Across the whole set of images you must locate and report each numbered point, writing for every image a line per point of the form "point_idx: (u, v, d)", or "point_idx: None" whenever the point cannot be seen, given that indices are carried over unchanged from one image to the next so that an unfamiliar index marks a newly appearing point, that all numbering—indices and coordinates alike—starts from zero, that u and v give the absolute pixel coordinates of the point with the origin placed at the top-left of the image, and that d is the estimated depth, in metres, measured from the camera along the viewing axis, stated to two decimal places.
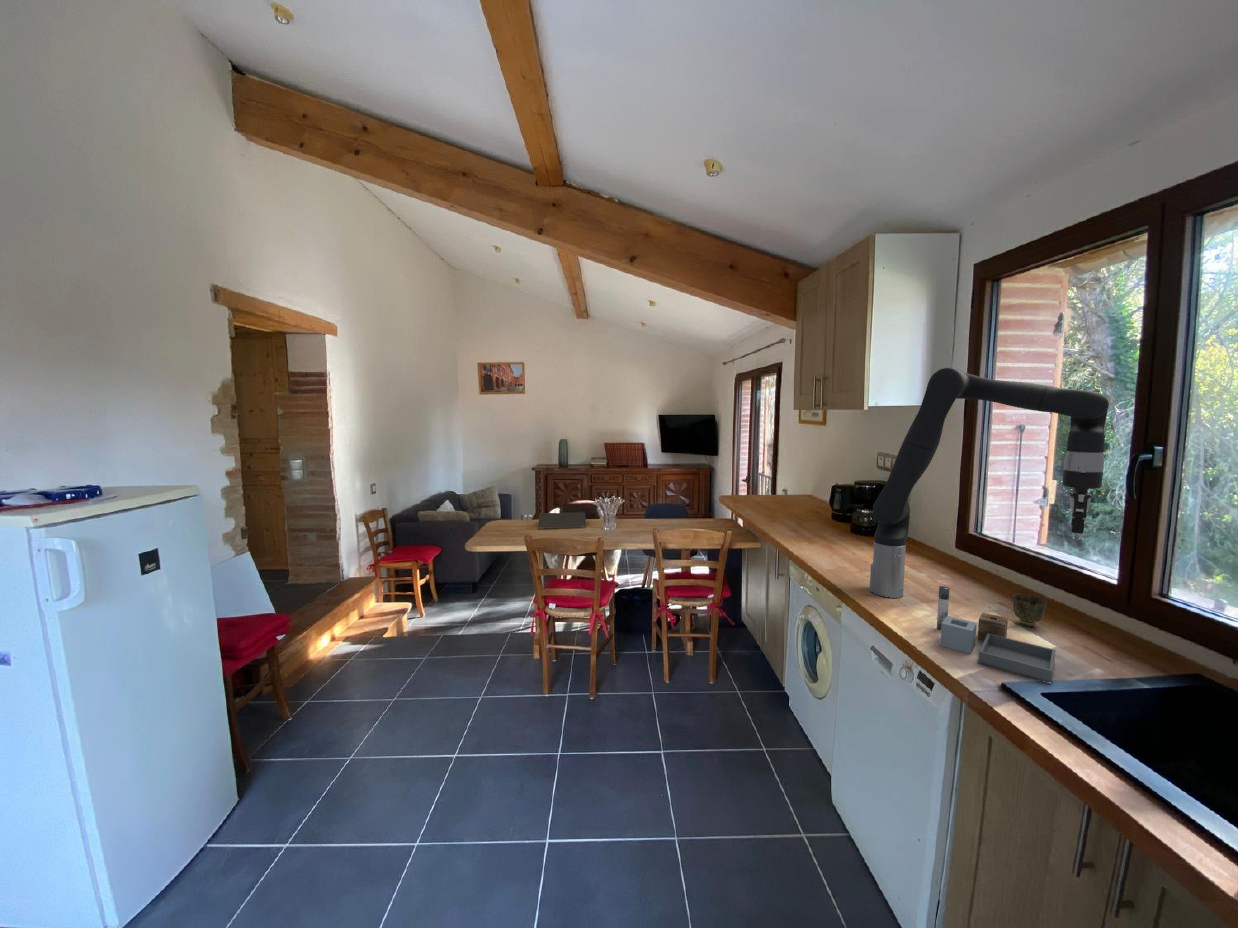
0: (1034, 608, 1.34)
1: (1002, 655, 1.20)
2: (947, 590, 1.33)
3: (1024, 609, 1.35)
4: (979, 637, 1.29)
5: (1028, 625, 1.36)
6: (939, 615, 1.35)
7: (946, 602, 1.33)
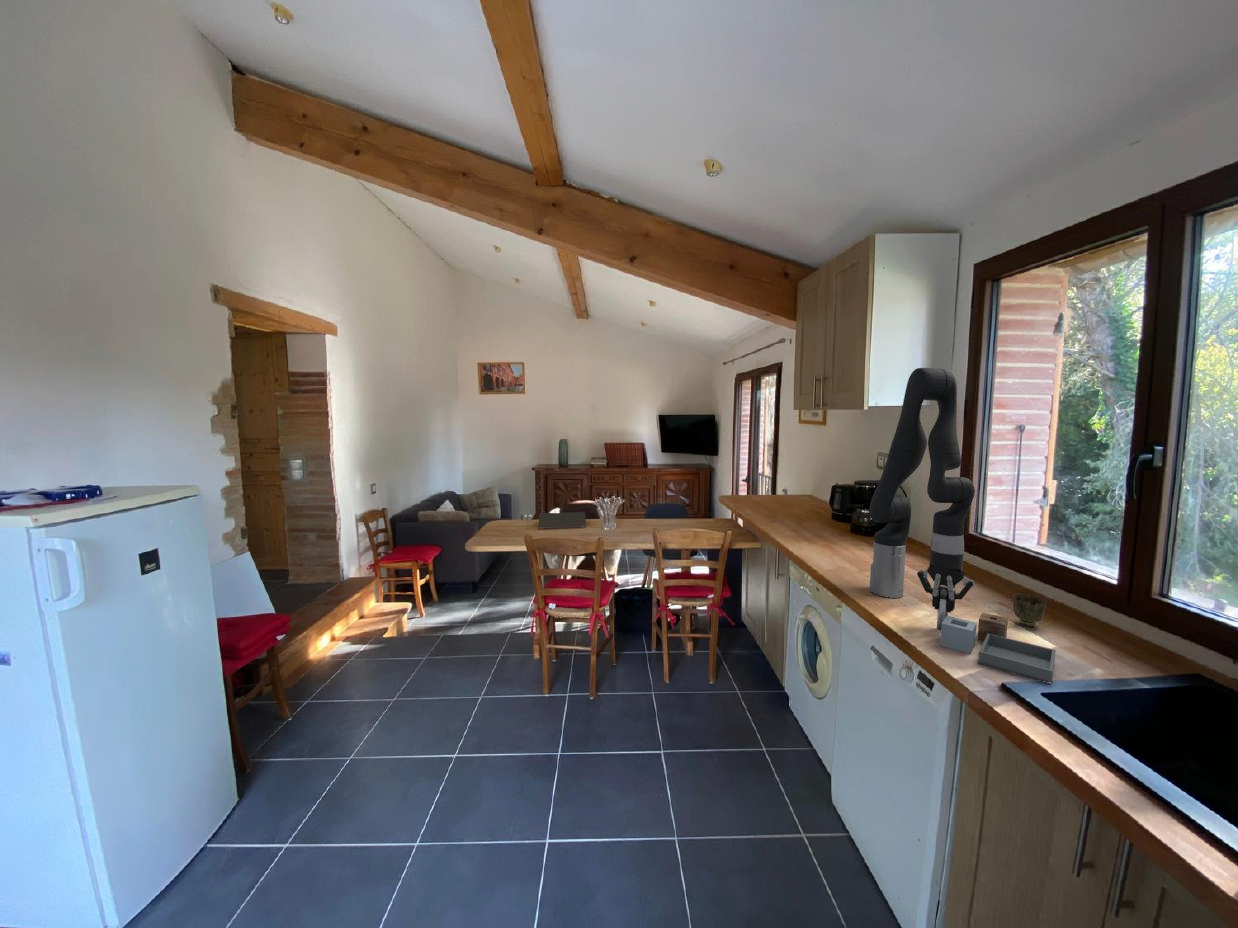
0: (1034, 608, 1.34)
1: (1002, 655, 1.20)
2: (947, 590, 1.33)
3: (1024, 609, 1.35)
4: (979, 637, 1.29)
5: (1028, 625, 1.36)
6: (939, 615, 1.35)
7: (946, 602, 1.33)
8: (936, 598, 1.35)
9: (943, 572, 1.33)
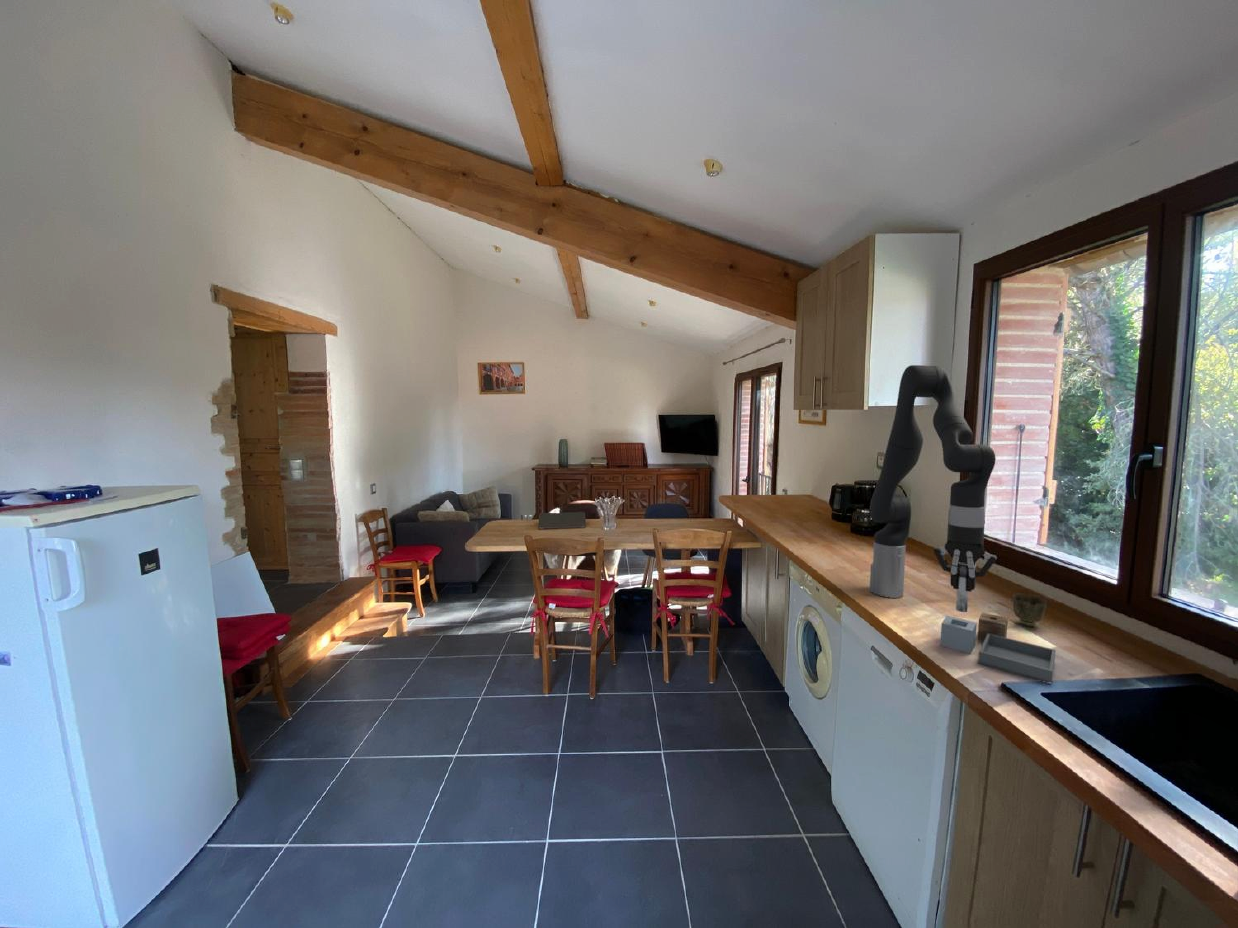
0: (1034, 608, 1.34)
1: (1002, 655, 1.20)
2: (967, 567, 1.23)
3: (1024, 609, 1.35)
4: (979, 637, 1.29)
5: (1028, 625, 1.36)
6: (958, 595, 1.25)
7: (966, 580, 1.23)
8: (955, 576, 1.25)
9: (962, 548, 1.23)
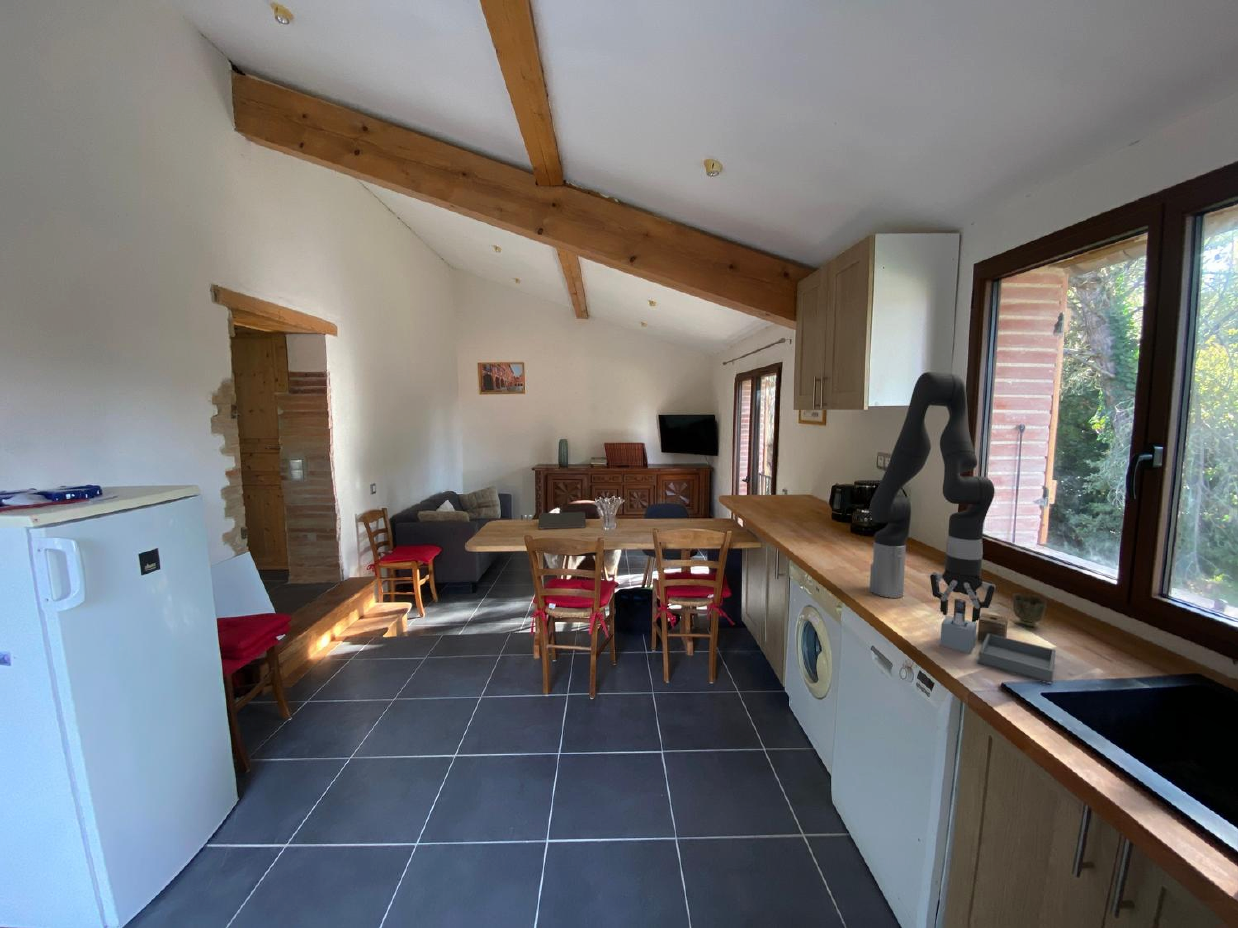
0: (1034, 608, 1.34)
1: (1002, 655, 1.20)
2: (964, 604, 1.24)
3: (1024, 609, 1.35)
4: (979, 637, 1.29)
5: (1028, 625, 1.36)
6: None
7: (962, 616, 1.24)
8: (945, 603, 1.27)
9: (960, 578, 1.24)
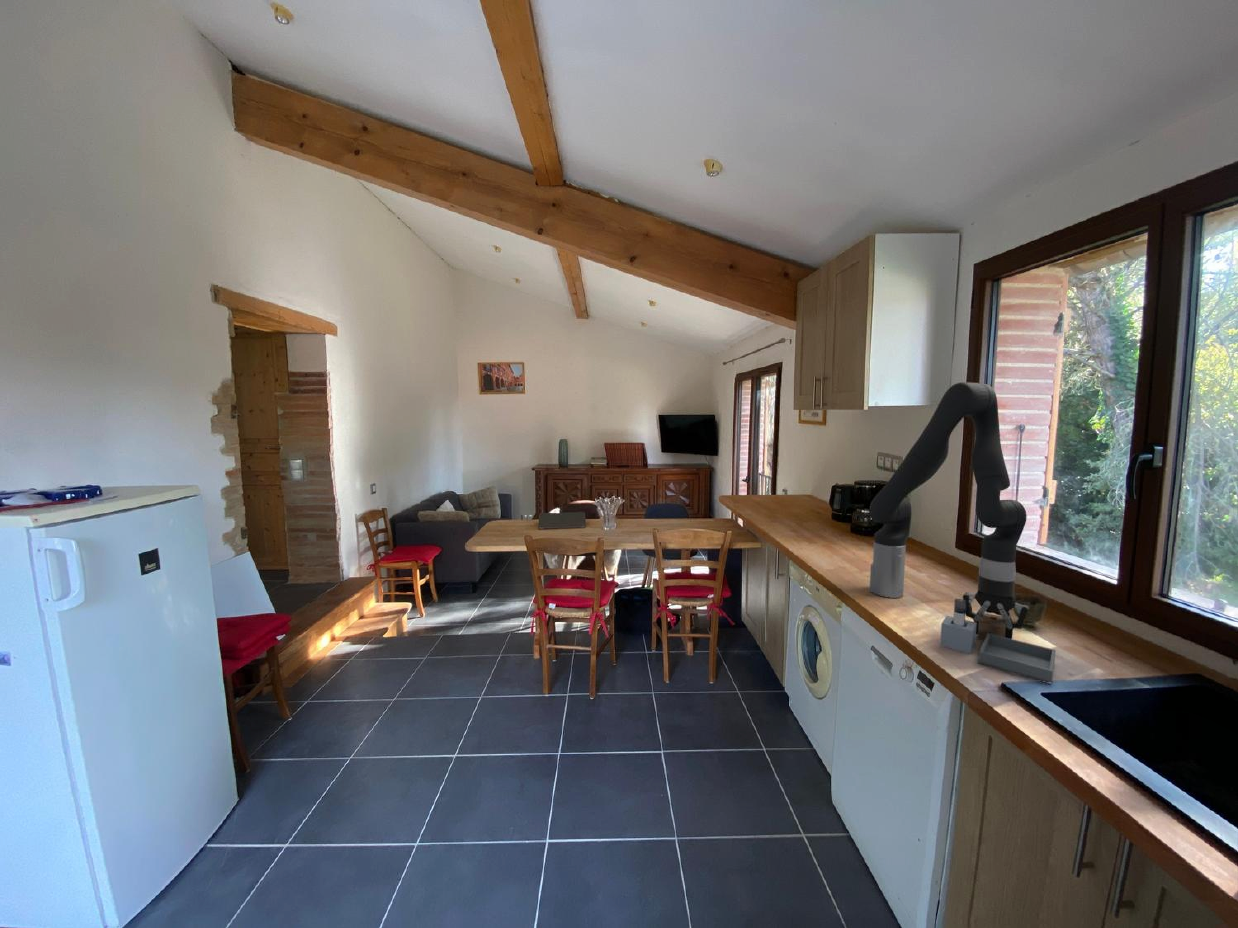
0: (1034, 608, 1.34)
1: (1002, 655, 1.20)
2: (964, 604, 1.24)
3: None
4: (979, 637, 1.29)
5: (1028, 625, 1.36)
6: None
7: (963, 616, 1.24)
8: (978, 623, 1.30)
9: (993, 599, 1.27)
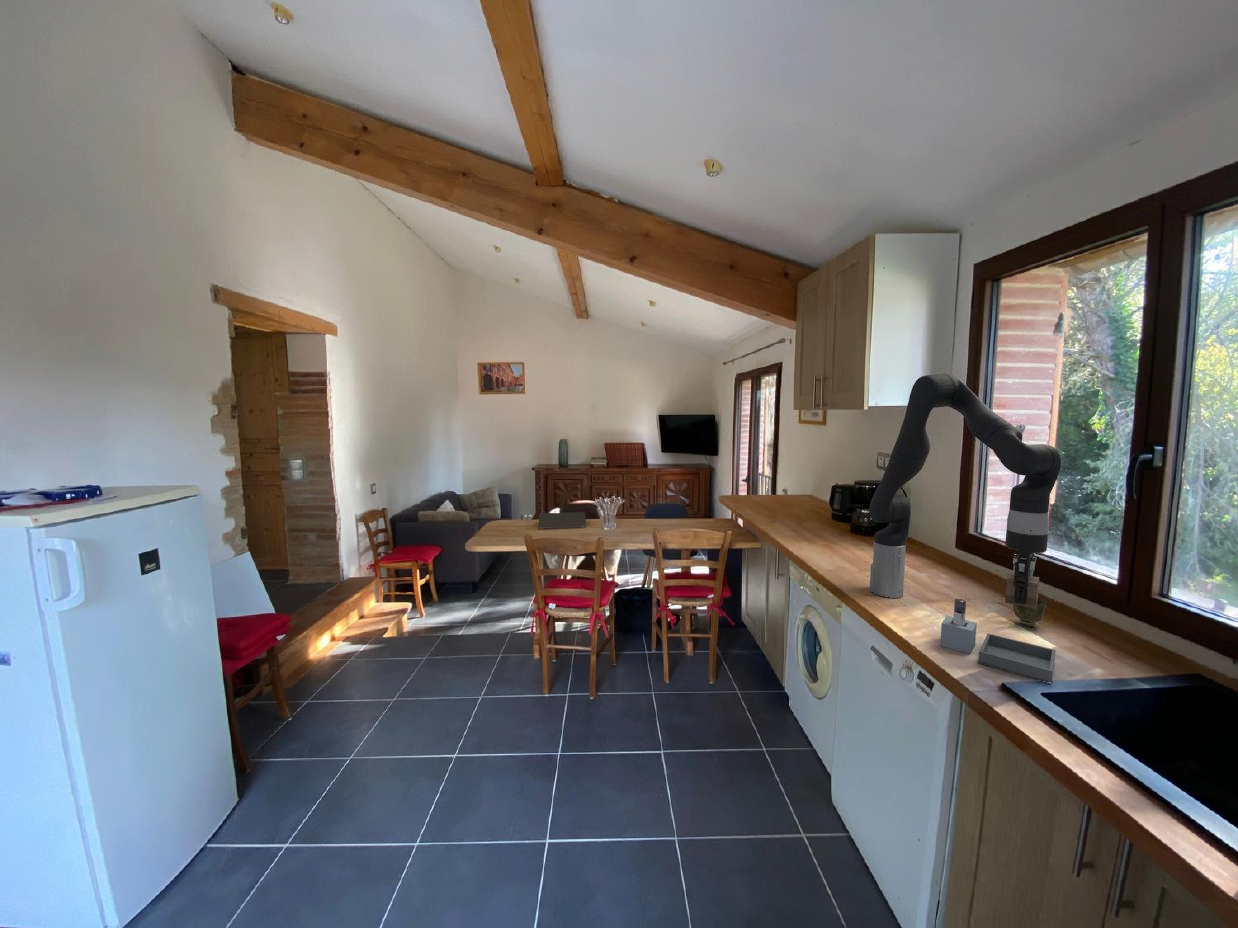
0: (1033, 608, 1.34)
1: (1002, 655, 1.20)
2: (964, 604, 1.24)
3: (1024, 609, 1.35)
4: (1035, 604, 1.12)
5: (1028, 625, 1.36)
6: None
7: (963, 616, 1.24)
8: None
9: (1030, 556, 1.14)
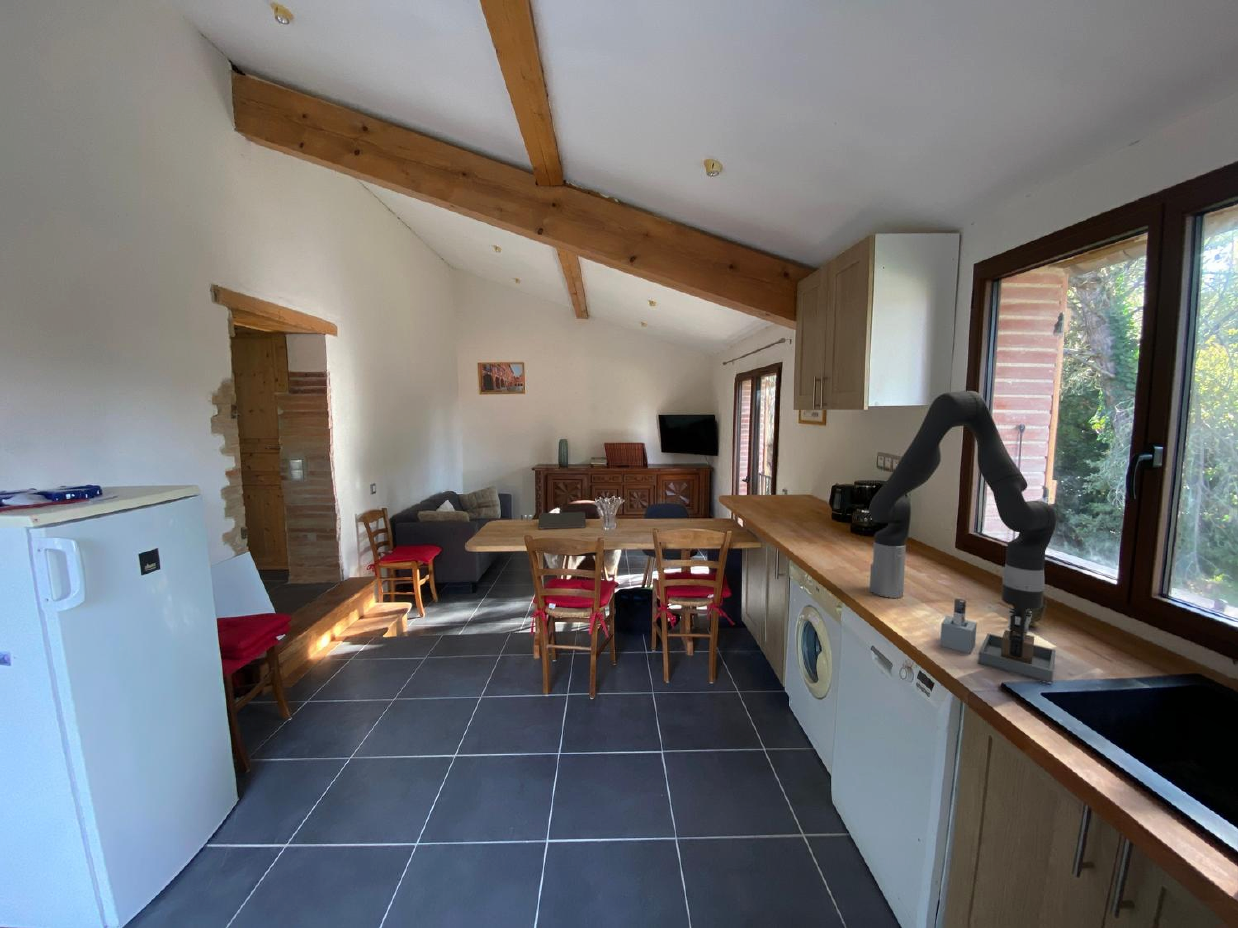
0: None
1: None
2: (964, 604, 1.24)
3: None
4: None
5: None
6: None
7: (962, 616, 1.24)
8: (1022, 644, 1.13)
9: (1026, 611, 1.15)
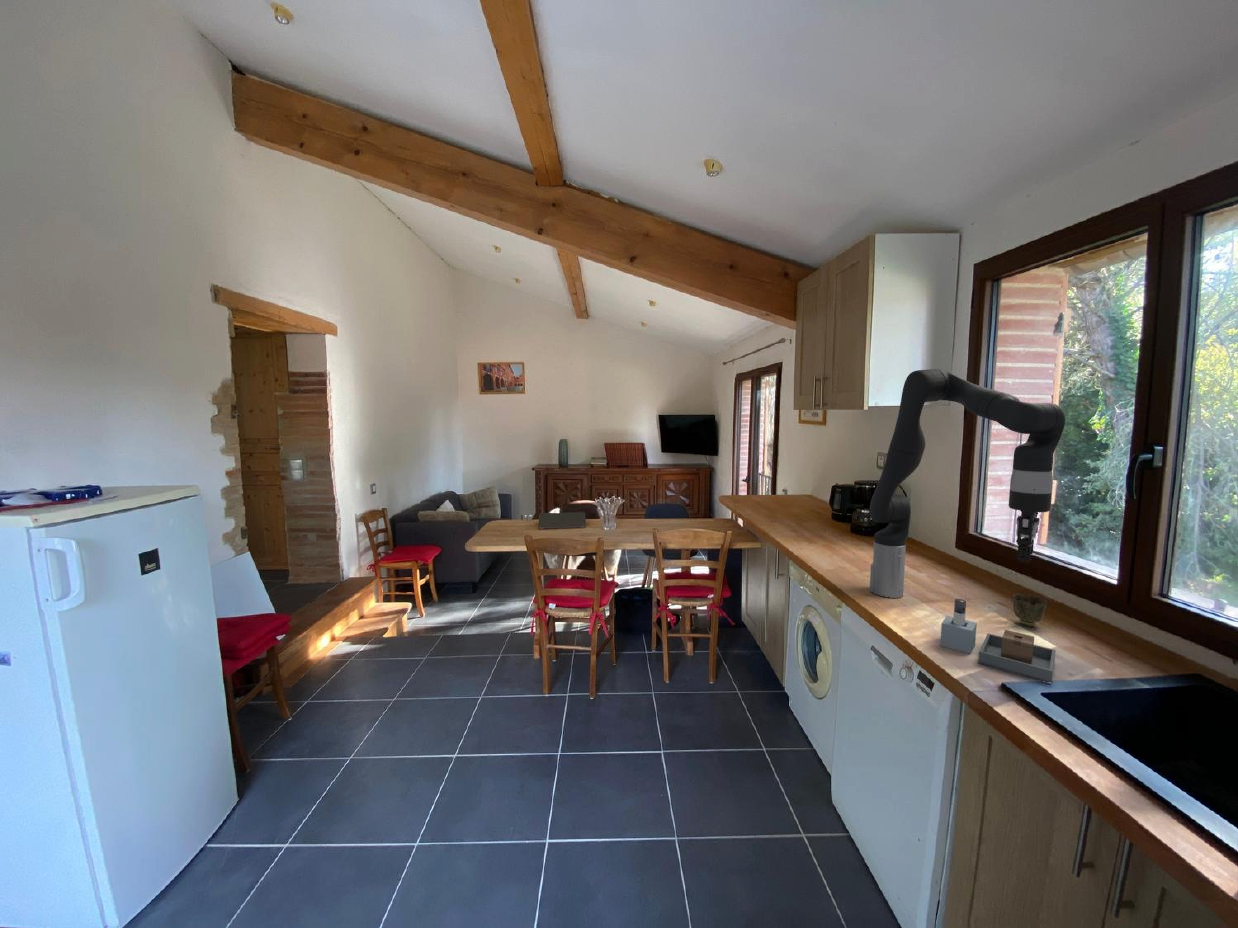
0: (1034, 608, 1.34)
1: None
2: (964, 604, 1.24)
3: (1024, 609, 1.35)
4: None
5: (1028, 625, 1.36)
6: None
7: (963, 616, 1.24)
8: (1030, 548, 1.10)
9: (1034, 517, 1.13)
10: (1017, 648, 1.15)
